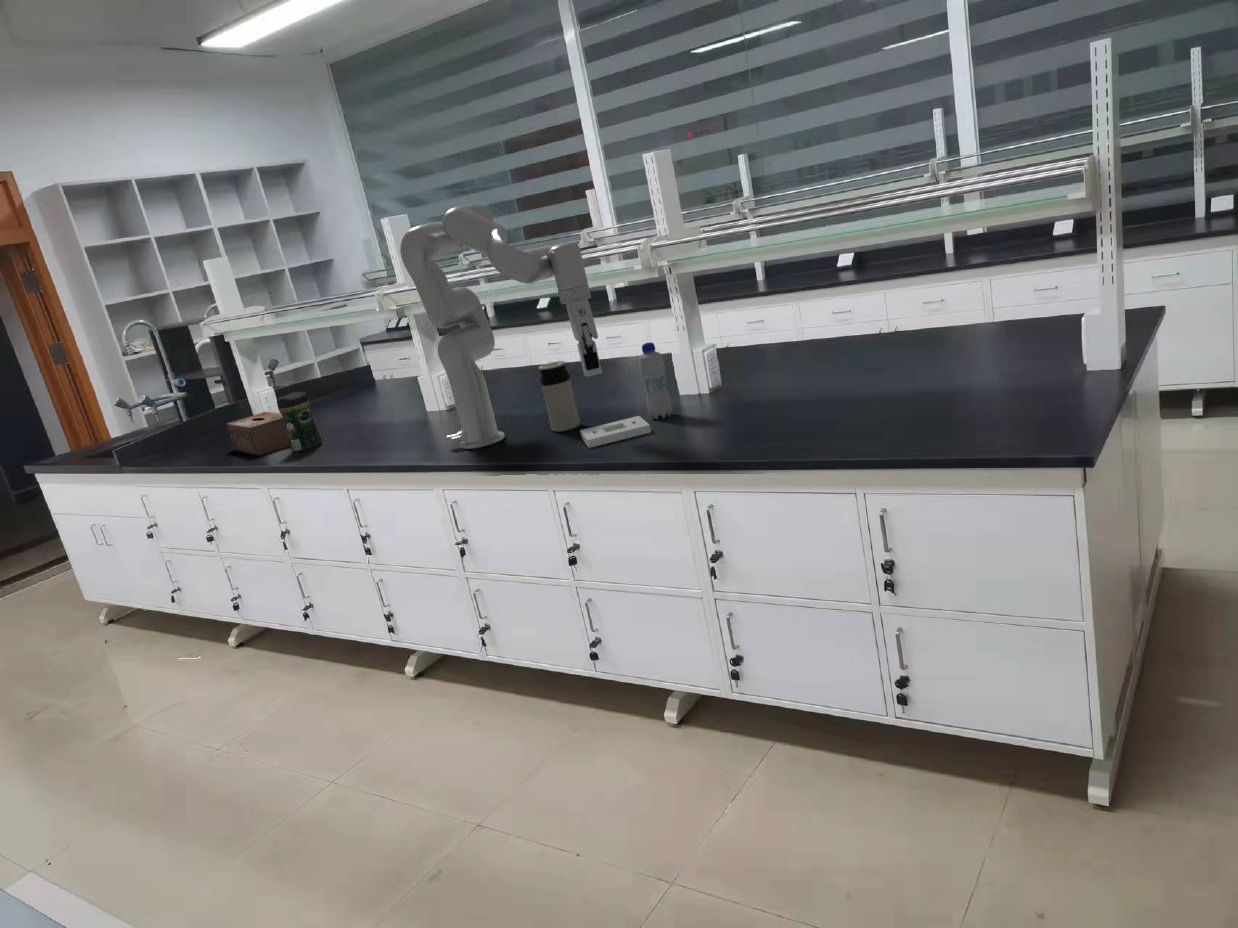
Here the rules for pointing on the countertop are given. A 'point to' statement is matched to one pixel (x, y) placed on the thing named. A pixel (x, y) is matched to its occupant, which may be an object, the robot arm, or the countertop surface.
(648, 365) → the bottle
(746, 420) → the countertop surface
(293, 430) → the coffee jar
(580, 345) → the charger
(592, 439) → the outlet plate
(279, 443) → the tissue box cover
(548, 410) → the travel mug
